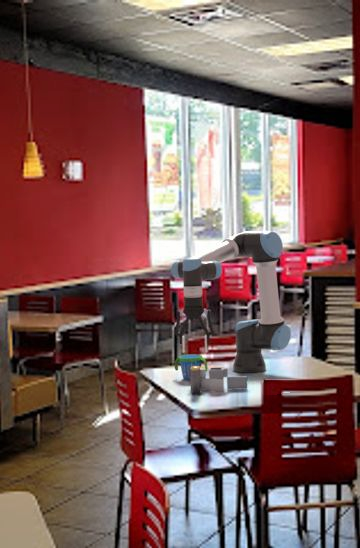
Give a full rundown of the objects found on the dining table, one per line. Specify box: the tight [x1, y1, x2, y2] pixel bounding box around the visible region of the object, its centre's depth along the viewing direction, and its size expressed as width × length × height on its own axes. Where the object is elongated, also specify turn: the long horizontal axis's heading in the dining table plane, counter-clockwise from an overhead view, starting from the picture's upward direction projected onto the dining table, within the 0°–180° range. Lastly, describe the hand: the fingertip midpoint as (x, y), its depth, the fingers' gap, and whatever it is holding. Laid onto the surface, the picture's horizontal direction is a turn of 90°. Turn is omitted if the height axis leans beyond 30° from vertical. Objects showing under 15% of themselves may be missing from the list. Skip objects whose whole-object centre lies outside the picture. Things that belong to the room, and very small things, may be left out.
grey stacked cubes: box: [208, 366, 248, 390], centre depth 343 cm, size 16×6×8 cm, turn 87°
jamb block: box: [190, 366, 205, 391], centre depth 347 cm, size 5×6×9 cm
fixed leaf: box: [200, 369, 225, 392], centre depth 344 cm, size 6×13×9 cm, turn 86°
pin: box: [191, 366, 202, 396], centre depth 336 cm, size 4×4×11 cm
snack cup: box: [174, 353, 209, 381], centre depth 368 cm, size 16×10×10 cm
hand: (195, 352), depth 335 cm, fingers open, 8 cm apart
